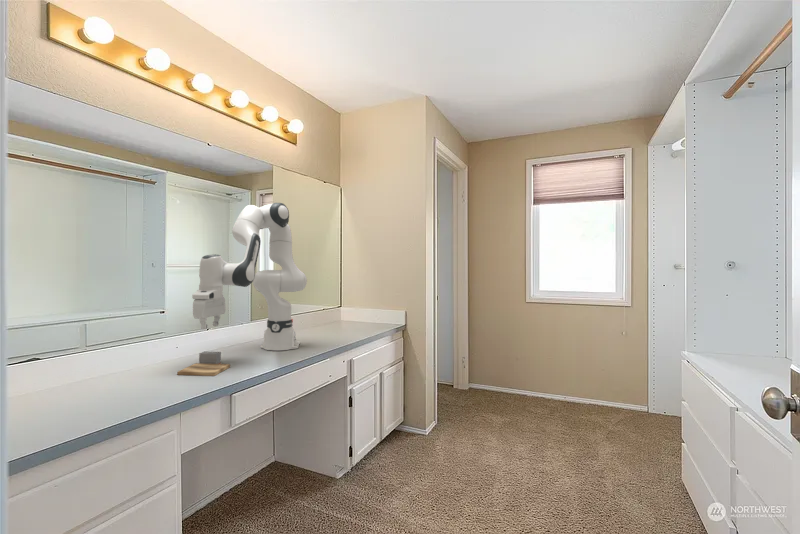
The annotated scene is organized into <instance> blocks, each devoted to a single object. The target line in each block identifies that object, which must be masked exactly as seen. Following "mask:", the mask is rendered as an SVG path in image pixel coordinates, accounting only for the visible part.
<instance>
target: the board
mask: <svg viewBox="0 0 800 534" xmlns="http://www.w3.org/2000/svg"><path fill="white" fill-rule="evenodd" d="M230 368H231V364H230V363H221V364H205V363H199V362H198V363H197V362H196V363H194V364H192V365H189V366H187V367H185V368H182V369H180V370H178V371H177V374H176V375H178V376H202V377H203V376H205V377H206V376H207V377H210V376H211V377H215V376H217V375H219V374H220V373H222V372H224V371H226V370H228V369H230Z"/></svg>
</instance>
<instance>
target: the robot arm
mask: <svg viewBox="0 0 800 534" xmlns="http://www.w3.org/2000/svg"><path fill="white" fill-rule="evenodd" d="M289 220H290V212H289V208H288V207H287V205H286V204H285V203H282V202H274V203H269V204H265V205H262V206H260V207H259V206H256V205H254V204H248V205H246V206H245V207H244V208H243V209H241V212H239V214H238V216H237V218H236V220H235V222H234V224H233V227H232V230H231V233H232V235H233V238H234V239H235V240H236V241H237V242H238V243H239V244H241V245H243V246H245V247H246V248H245V253H244V255H243V260H242V261H240V262H238V263H237V262H235V263H233V262H232V263H231V262H228V261H225V260H224V259H223V258H222V255H221V254H217V253H216V254H214V253H213V254H206V255H204V256H202V257H201V259H200V262H199V271H198V272H199V274H198V275H199V285H198V289H197V290H196V291H195V292H193V293H192V296H191V297H192V298H191V299H192V300H193V302H192V316H193V318H194V319H199V324H200V328H201V330H207V329H208V323H207V322H206V321H207V318H210V317H211V318H213V317H214V319H213V321H212V327H213V326H214V327H218V326H219V323H220V322H219V321H220V319H221V315H225V313H226V299H225V297H224V295H223V288H224V287H223V286H232V287H233V286H234V287H244V288H247V287H249V286H251V284H252V285H253V286H254V288H255V290H256V291H258V292H259V293H260V294H261V295H262V296H263V298H264V299H265V301H266V303H267V321H266V327H267V328H266V329H265V330H264V332H263V341H262V343H263V344H261V345H260V349H264V350H265V351H267V350H268V351H287V350H295V349H299V348H300V347H299V346H300V345H299V344H301V341H300V340H297V336H296V335H297V333H296V331H295V330H294V328H293V321H294V319H293V318H292V304H291V302H290V301H288V300H287V299H285V298H282V297H281V296H280V295H279V293H295V292H300V291H303V290H304V289H305V288H306V287H307V282H308V279H307V278H308V277H307V275H306V274H305V272H303V271H302V270H300V269H299V268H298V265H296V263H295V261H294V257H293V237H292V230H291V226H290V225H289ZM263 229H268V230H269V233H270V234H269V243H268V244H269V246H268V248H269V250H268V254H269V255H268V256H269V259H270V261H272V262H273V263H275V264H277V265H278V266H280V267H281V269H265V270H258V271H257V272H256V268H257V267H256V266H257V262H258V257H259V253H260V249H261V237H260V236H259V233H260V230H263Z"/></svg>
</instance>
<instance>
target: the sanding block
mask: <svg viewBox="0 0 800 534" xmlns="http://www.w3.org/2000/svg"><path fill="white" fill-rule="evenodd" d="M221 354H222V352H221V351H209V350H208V351H202V352H200V353H198V355H199V356H198V357H199V358H198V363H205V364H222V355H221Z"/></svg>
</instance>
